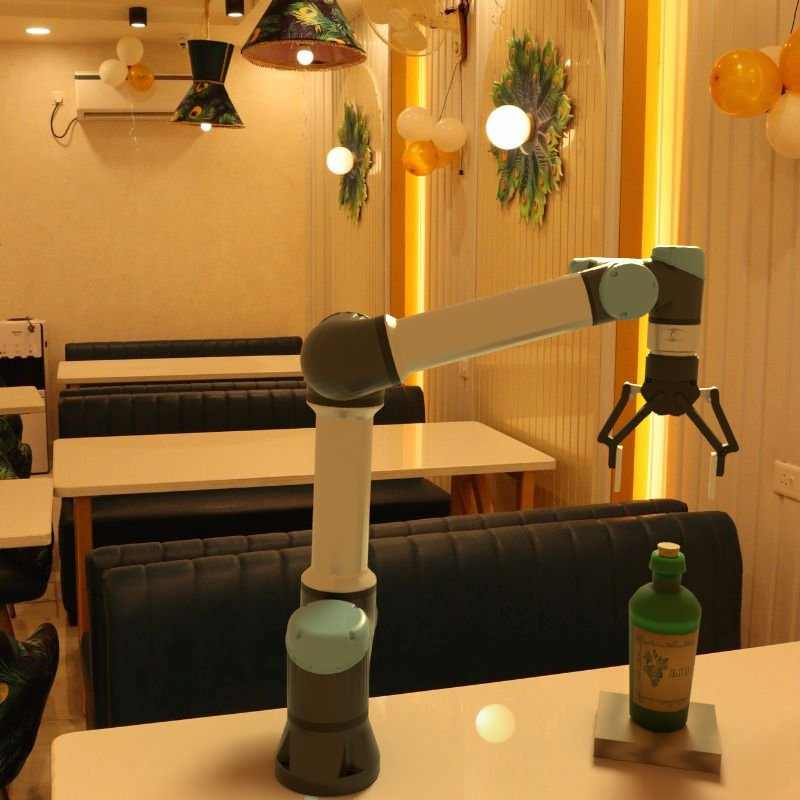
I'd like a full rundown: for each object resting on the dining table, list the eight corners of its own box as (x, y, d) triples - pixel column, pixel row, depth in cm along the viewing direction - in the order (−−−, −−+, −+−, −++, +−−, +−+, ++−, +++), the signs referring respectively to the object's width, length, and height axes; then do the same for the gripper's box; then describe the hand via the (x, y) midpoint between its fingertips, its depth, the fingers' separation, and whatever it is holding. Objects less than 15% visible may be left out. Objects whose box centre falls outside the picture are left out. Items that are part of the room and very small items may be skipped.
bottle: (644, 741, 148) (655, 559, 143) (610, 709, 158) (619, 537, 153) (707, 733, 150) (720, 554, 146) (670, 701, 161) (680, 533, 156)
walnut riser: (593, 756, 149) (594, 737, 149) (598, 707, 164) (599, 690, 164) (719, 773, 145) (721, 754, 144) (713, 722, 160) (714, 704, 160)
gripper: (584, 351, 146) (577, 492, 149) (765, 359, 140) (753, 506, 143) (587, 345, 153) (581, 481, 156) (760, 353, 147) (749, 494, 150)
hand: (663, 493), depth 150 cm, fingers open, 13 cm apart
